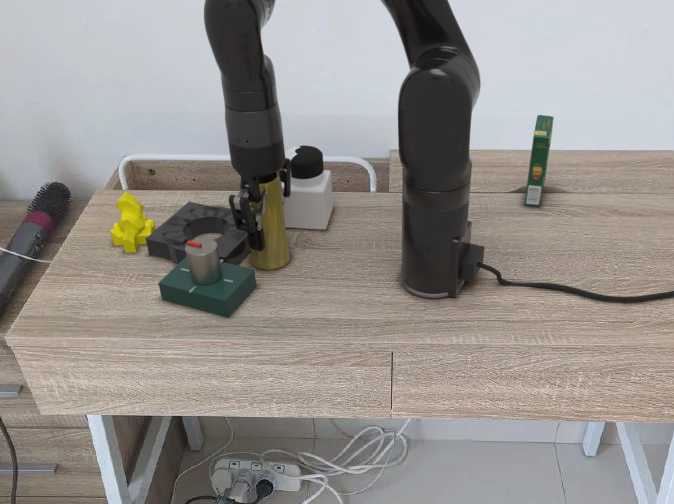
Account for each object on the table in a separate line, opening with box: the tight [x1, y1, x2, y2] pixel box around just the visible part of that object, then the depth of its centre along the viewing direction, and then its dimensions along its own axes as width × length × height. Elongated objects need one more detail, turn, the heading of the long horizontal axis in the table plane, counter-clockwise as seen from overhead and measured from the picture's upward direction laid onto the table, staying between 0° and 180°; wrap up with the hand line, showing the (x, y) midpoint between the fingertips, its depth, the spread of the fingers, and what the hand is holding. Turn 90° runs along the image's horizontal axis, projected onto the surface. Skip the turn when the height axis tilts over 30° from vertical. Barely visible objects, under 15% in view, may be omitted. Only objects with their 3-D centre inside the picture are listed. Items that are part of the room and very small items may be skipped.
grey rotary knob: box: [185, 237, 222, 285], centre depth 110 cm, size 4×4×5 cm
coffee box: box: [524, 114, 555, 208], centre depth 131 cm, size 8×3×13 cm, turn 167°
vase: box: [249, 172, 292, 271], centre depth 115 cm, size 6×6×14 cm
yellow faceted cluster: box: [110, 191, 157, 254], centre depth 122 cm, size 6×8×8 cm
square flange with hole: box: [145, 201, 250, 265], centre depth 122 cm, size 14×13×3 cm
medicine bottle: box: [281, 144, 334, 231], centre depth 125 cm, size 7×7×12 cm
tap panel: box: [157, 257, 258, 318], centre depth 112 cm, size 11×9×3 cm
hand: (267, 237), depth 118 cm, fingers closed on vase, 5 cm apart
